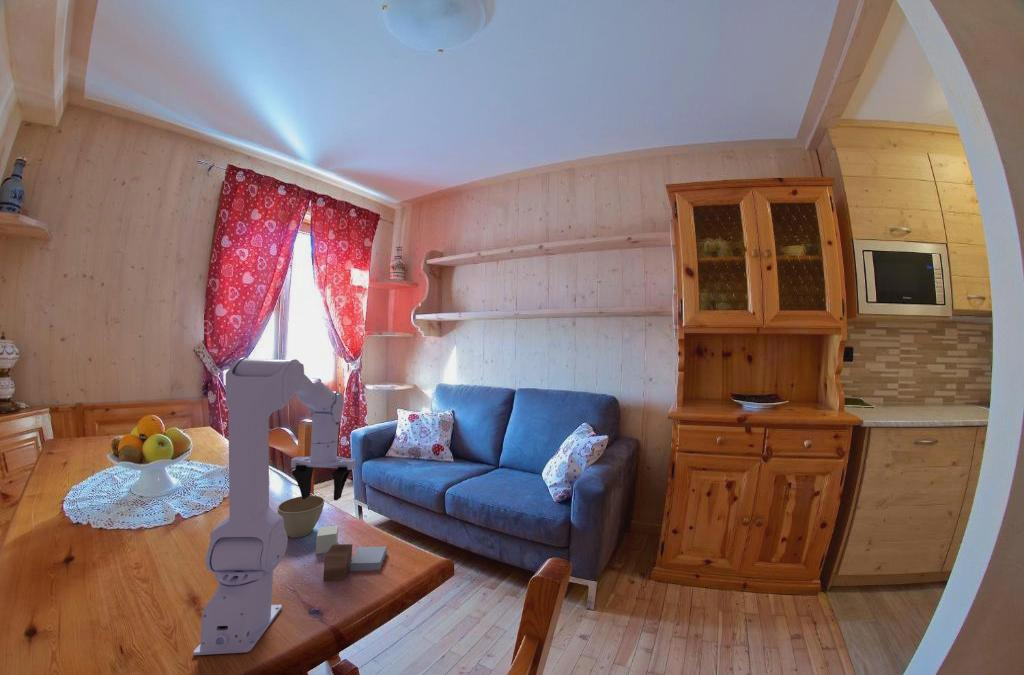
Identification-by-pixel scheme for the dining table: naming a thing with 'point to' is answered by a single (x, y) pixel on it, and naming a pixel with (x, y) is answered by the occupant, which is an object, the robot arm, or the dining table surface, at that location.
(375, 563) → the slate slab
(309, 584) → the dining table surface
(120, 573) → the dining table surface
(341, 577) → the walnut block
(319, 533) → the sage block
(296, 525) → the flower pot
